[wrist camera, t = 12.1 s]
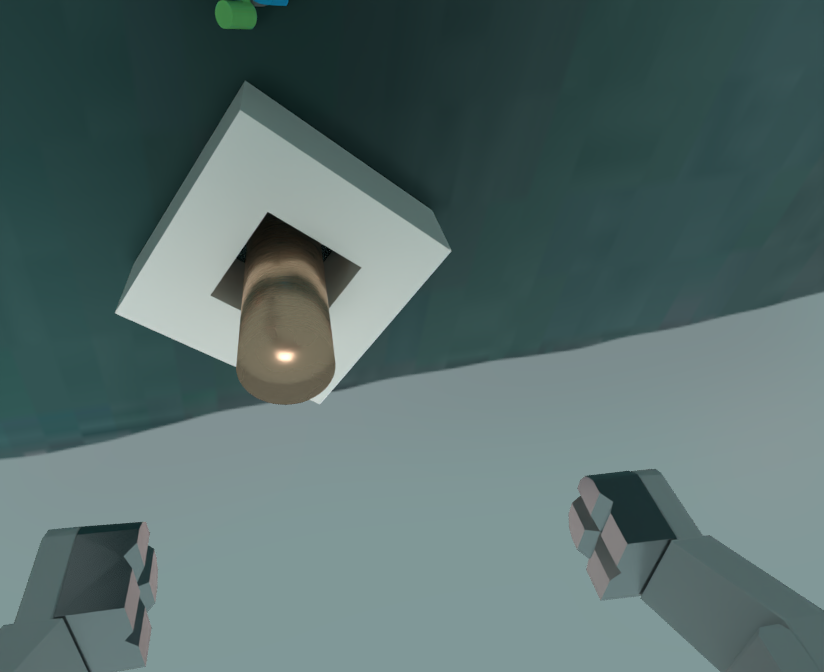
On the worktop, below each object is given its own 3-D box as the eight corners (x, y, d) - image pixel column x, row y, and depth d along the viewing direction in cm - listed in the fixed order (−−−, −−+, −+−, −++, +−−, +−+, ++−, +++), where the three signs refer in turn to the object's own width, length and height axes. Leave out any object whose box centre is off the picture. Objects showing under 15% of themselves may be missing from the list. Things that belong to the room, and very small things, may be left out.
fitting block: (133, 263, 34) (114, 312, 30) (245, 80, 30) (240, 109, 26) (315, 353, 40) (320, 404, 36) (432, 210, 36) (451, 250, 32)
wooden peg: (234, 245, 35) (217, 381, 25) (272, 189, 33) (269, 311, 24) (295, 279, 37) (301, 417, 27) (333, 227, 35) (354, 354, 26)
